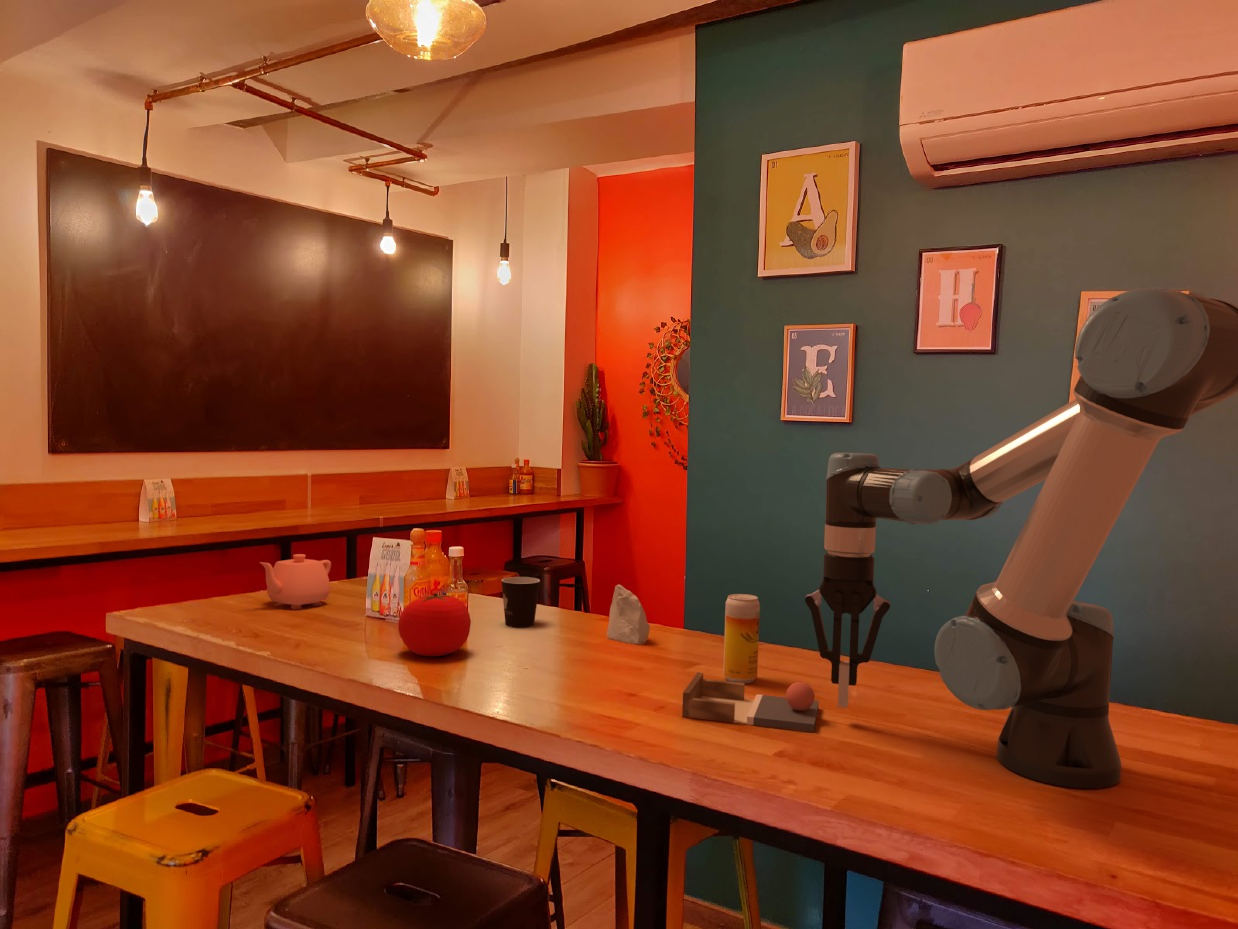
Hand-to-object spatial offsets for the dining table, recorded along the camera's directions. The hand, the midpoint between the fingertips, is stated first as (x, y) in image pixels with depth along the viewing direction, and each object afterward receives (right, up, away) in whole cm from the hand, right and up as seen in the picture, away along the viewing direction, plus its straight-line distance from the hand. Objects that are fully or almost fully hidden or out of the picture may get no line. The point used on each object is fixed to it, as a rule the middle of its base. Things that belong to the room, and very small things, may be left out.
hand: (842, 704), depth 135 cm
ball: (-6, +1, +2) cm, 7 cm away
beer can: (-13, -2, +22) cm, 26 cm away
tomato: (-70, 0, +34) cm, 78 cm away
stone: (-33, 0, +50) cm, 60 cm away
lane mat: (-14, -2, +4) cm, 14 cm away
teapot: (-112, +3, +75) cm, 135 cm away
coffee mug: (-57, +1, +63) cm, 85 cm away
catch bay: (-19, -2, +5) cm, 20 cm away
